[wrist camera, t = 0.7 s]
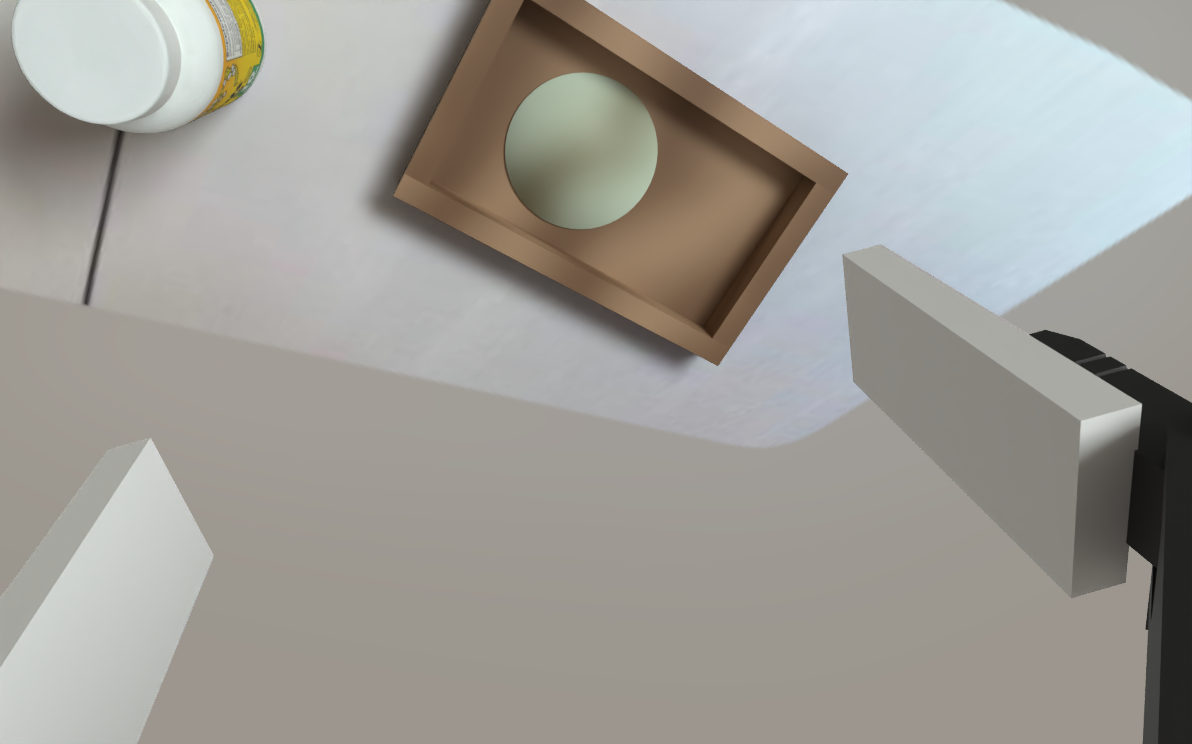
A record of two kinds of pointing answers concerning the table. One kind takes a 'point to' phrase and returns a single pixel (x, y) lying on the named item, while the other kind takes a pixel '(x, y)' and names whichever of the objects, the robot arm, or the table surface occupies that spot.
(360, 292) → the table surface
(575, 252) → the tray
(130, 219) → the table surface
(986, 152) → the table surface
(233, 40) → the supplement bottle
